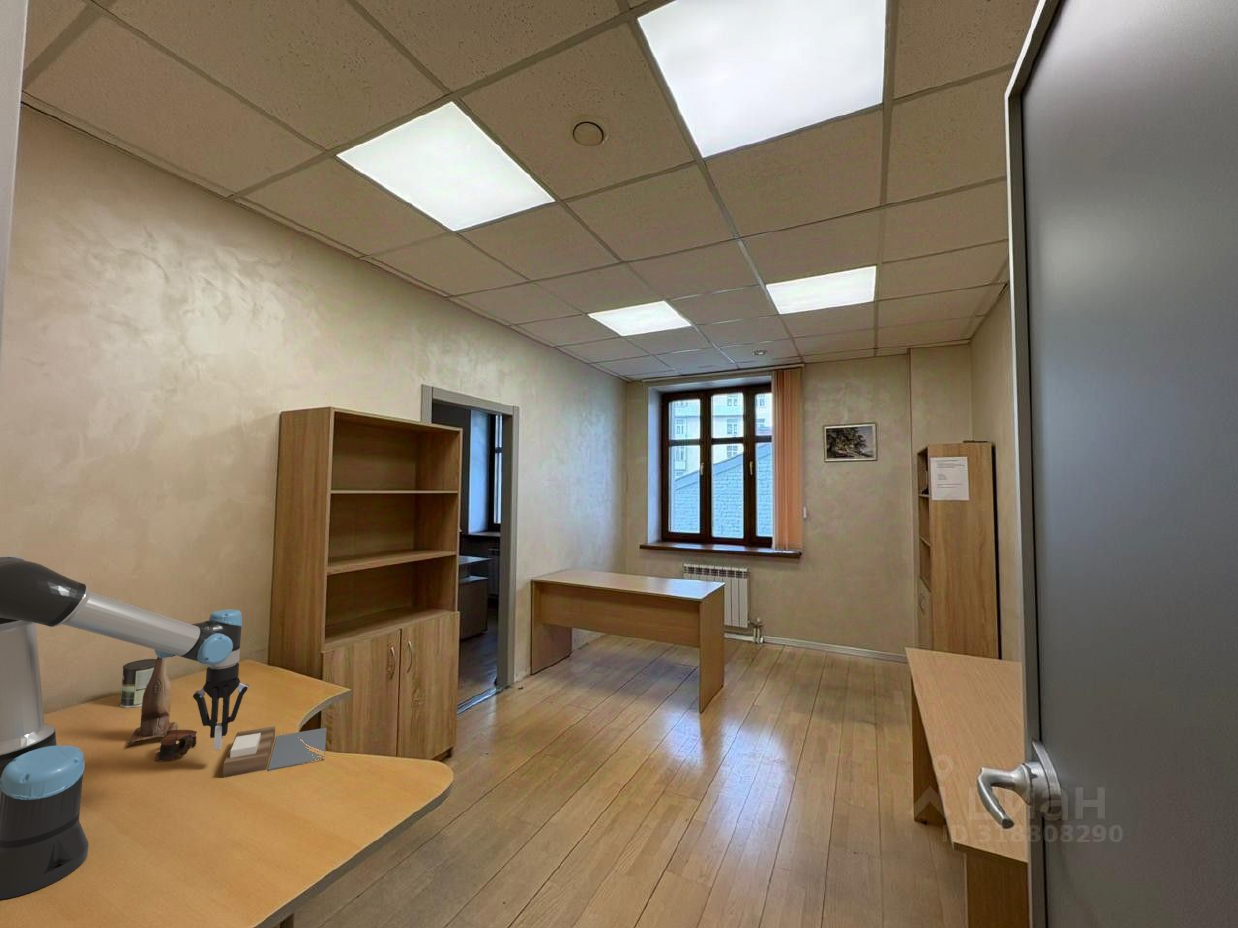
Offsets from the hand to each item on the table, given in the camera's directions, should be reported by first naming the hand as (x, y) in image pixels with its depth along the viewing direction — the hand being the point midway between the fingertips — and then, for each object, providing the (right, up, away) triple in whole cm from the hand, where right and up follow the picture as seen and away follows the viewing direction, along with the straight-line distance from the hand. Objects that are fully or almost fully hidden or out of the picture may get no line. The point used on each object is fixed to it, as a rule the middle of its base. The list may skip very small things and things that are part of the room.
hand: (217, 747), depth 148 cm
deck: (+5, -6, +6) cm, 10 cm away
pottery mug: (-17, -6, +6) cm, 19 cm away
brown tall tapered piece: (-33, -6, +15) cm, 36 cm away
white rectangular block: (+6, -2, +3) cm, 7 cm away
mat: (+16, -7, +12) cm, 21 cm away
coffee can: (-61, -6, +41) cm, 74 cm away
